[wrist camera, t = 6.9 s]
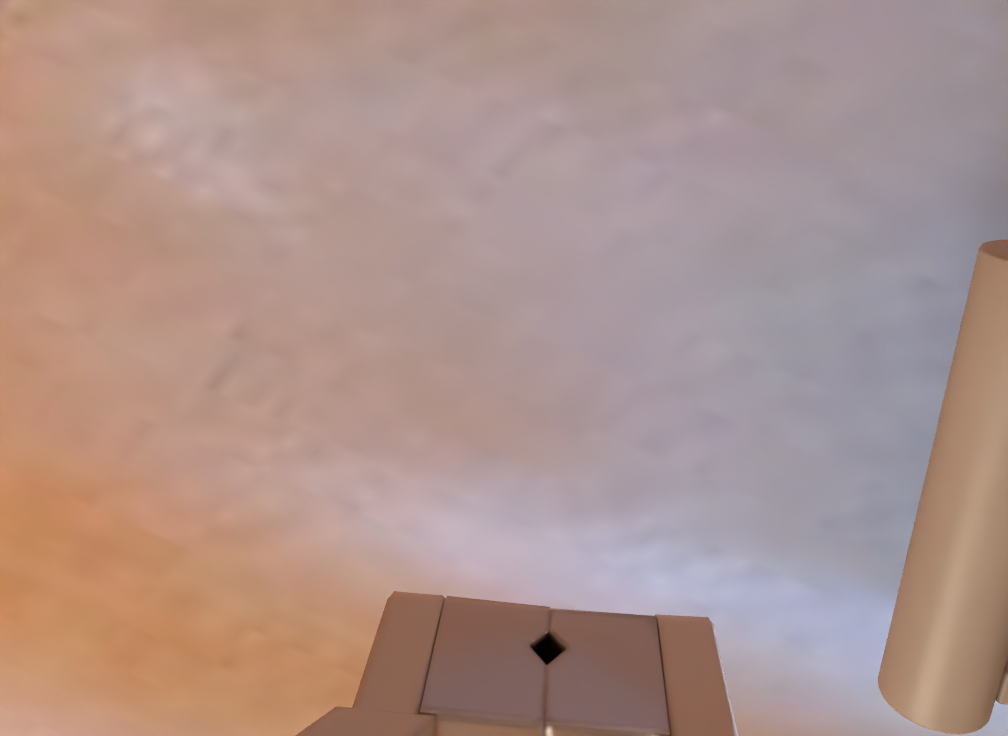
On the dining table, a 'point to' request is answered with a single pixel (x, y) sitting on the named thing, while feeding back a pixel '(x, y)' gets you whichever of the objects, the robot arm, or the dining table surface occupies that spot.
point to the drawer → (960, 534)
